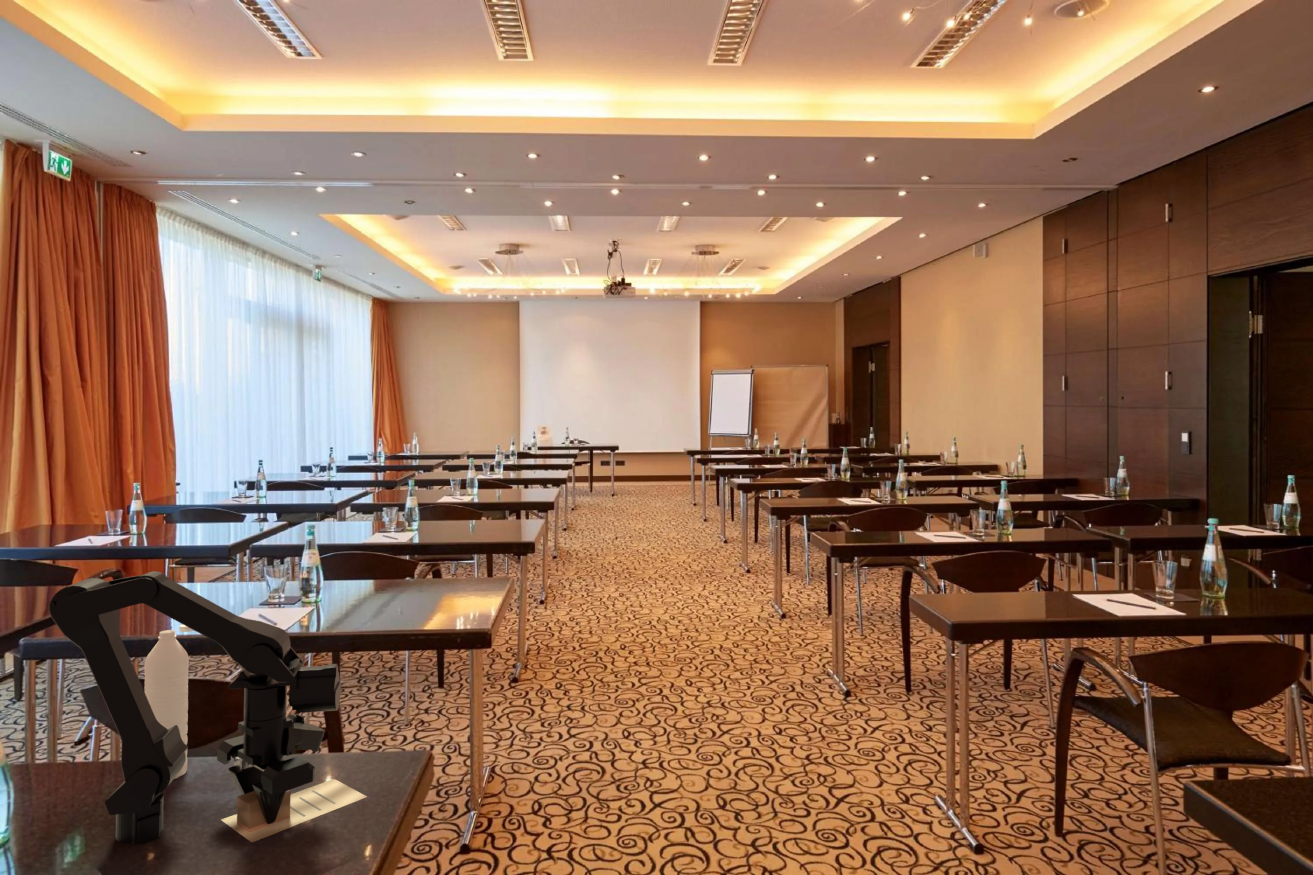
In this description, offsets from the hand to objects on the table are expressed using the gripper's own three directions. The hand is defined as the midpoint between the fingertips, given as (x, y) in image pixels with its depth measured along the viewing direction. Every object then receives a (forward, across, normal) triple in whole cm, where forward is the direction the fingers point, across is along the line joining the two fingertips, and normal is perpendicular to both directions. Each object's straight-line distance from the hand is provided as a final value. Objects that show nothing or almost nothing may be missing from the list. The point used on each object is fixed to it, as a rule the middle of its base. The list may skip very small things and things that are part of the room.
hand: (263, 818), depth 116 cm
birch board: (+2, 0, -5) cm, 5 cm away
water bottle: (+2, +32, +1) cm, 32 cm away
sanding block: (0, 0, 0) cm, 0 cm away
